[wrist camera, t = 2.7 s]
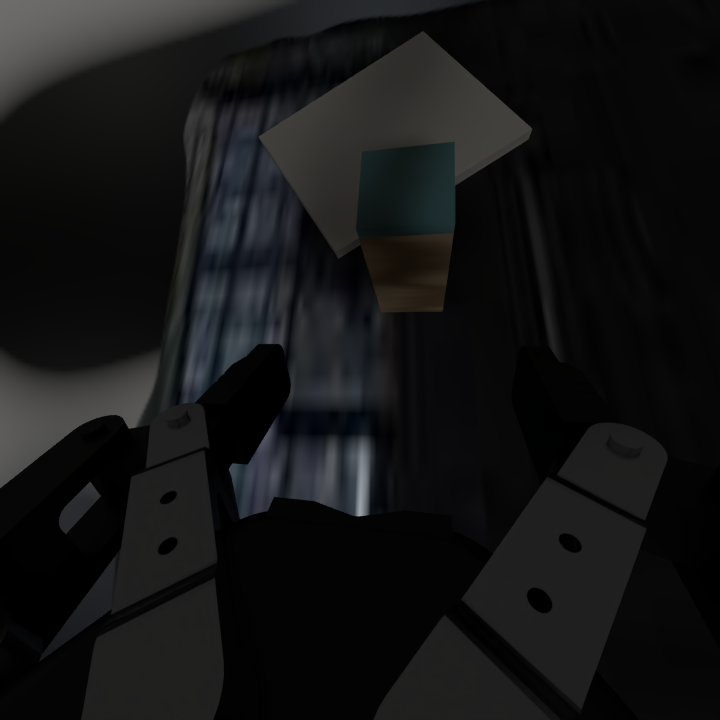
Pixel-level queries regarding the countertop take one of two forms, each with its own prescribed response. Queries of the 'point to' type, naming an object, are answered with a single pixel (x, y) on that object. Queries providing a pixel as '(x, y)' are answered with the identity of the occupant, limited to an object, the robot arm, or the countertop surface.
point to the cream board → (388, 130)
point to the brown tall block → (408, 224)
